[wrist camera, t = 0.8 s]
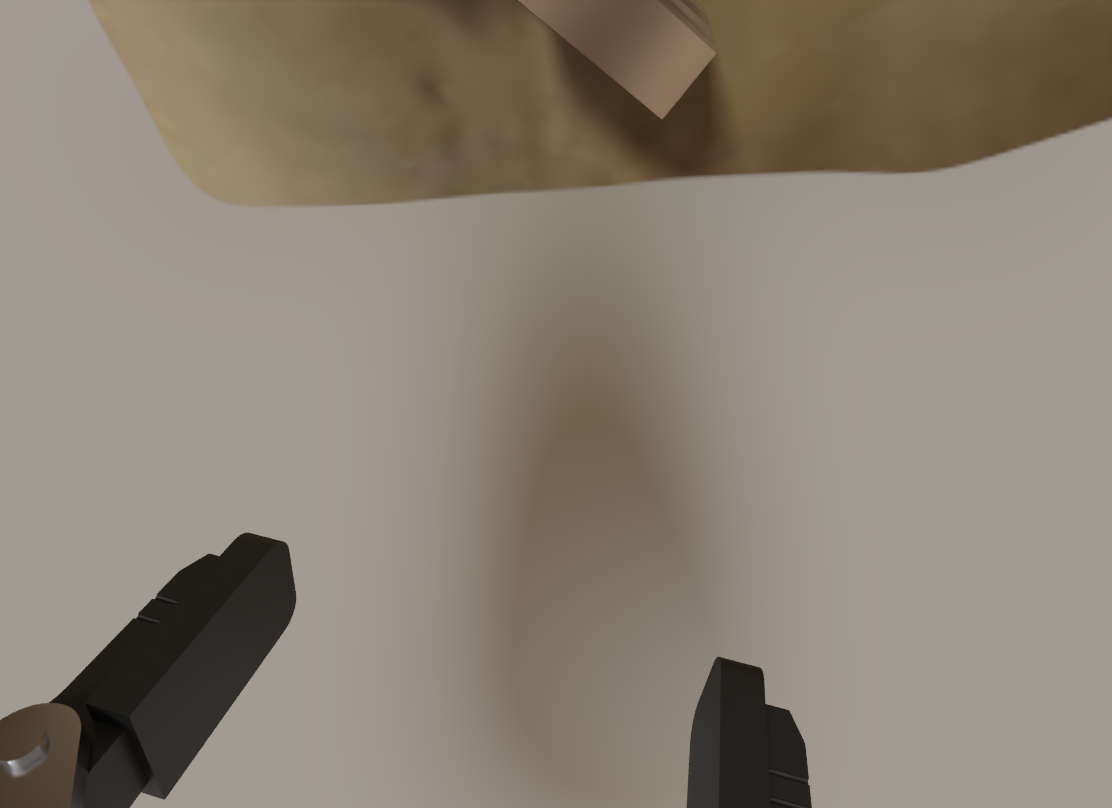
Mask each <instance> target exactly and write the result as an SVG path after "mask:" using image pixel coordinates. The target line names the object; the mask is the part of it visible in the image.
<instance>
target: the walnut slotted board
mask: <svg viewBox="0 0 1112 808" xmlns="http://www.w3.org/2000/svg"><path fill="white" fill-rule="evenodd" d="M518 1H519V2H521V3H522V4H523V5H524V6H525V7H527V8H528V9H529V10H530V11H532V12H533V13H534V14H535V15H536V16H538V17H539V18H540V19H541V20H542V21H544V22H545V23H546V24H547V25H548V26H550V27H551V28H552V29H553V30H554V31H556V32H557V33H558V34H559V35H561V36H562V37H563V38H564V39H565V40H567V41H568V42H569V43H570V44H571V45H573V46H574V47H575V48H576V49H577V50H579V51H580V52H581V53H582V54H583V55H585V56H586V57H587V58H588V59H589V60H591V61H592V62H593V63H594V64H596V65H597V66H598V67H599V68H600V69H602V70H603V71H604V72H605V73H606V74H608V75H609V76H610V77H611V78H612V79H614V80H615V81H616V82H617V83H618V84H620V85H621V86H622V87H623V88H624V89H626V90H627V91H628V92H629V93H631V94H632V95H633V96H634V97H635V98H637V99H638V100H639V101H640V102H641V103H643V104H644V105H645V106H646V107H647V108H649V109H650V110H651V111H652V112H653V113H655V114H656V115H657V116H658V117H659V118H661V119H663V118H664V117H665V116H666V114H667V113H668V112H669V111H670V110H671V108H672V107H673V106H674V105H675V103H676V102H677V101H678V100H679V99H680V97H681V96H682V95H683V94H684V92H685V91H686V90H687V89H688V88H689V86H690V85H691V84H692V83H693V81H694V80H695V79H696V78H697V77H698V75H699V74H700V73H701V72H702V70H703V69H704V68H705V67H706V66H707V64H708V63H709V62H710V61H711V59H712V58H713V57H714V56H715V55H716V50H715V46H714V42H713V38H712V35H711V31H710V27H709V23H708V20H707V16H706V12H705V10H704V9H703V8H702V7H701V6H700V5H699V4H697V3H696V2H695V1H694V0H518Z"/></svg>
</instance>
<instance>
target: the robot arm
mask: <svg viewBox="0 0 1112 808" xmlns="http://www.w3.org/2000/svg"><path fill="white" fill-rule="evenodd" d="M295 604H296V591H295V585H294V578H293V572H292V566H291V559H290V553H289V548H288V545H287V544H286V543H285V542H282V541H278V540H275V539H271V538H267V537H263V536H259V535H255V534H251V533H244V534H241V535H240V536H239V537H237V538H236V539H235V540H234V541H233V542H232V543H231V544H230V545H229V547H228V548H227V549H226V550H225V551H224V552H223V553H222V554H221V555H220V556H216V555H213V554H207V555H206V556H204V557H202V558H201V559H199V560H197V561H196V562H194V563H192V564H190V565H189V566H187V567H186V568H184V569H182V570H181V571H179V572H178V573H177V574H176V575H175V576H174V577H173V578H172V579H171V580H170V581H169V582H168V583H167V584H166V585H165V586H164V587H163V588H162V590H161V591H160V592H159V593H158V594H157V597H156V598H155V599H152V600H151V601H150V602H149V603H148V604H147V605H146V606H145V607H144V608H143V609H142V610H141V611H140V612H139V613H138V617H137V618H136V619H134V618H133V619H132V621H131V622H129V624H128V625H127V626H126V627H125V628H124V629H123V630H122V631H121V632H120V633H119V634H118V635H117V636H116V637H115V638H114V639H113V640H112V641H111V642H110V643H109V644H108V645H107V646H106V647H105V648H104V649H103V651H101V652H100V654H98V656H97V657H96V658H95V659H94V660H93V661H92V662H91V663H90V664H89V665H88V666H87V667H86V668H85V669H84V670H83V671H82V672H81V673H80V674H79V675H78V676H77V677H76V678H75V679H74V680H73V681H72V682H71V683H70V684H69V686H68V687H67V688H66V689H64V690H63V691H62V692H61V693H60V694H59V695H58V696H57V697H56V698H54V699H53V700H52V701H51V702H49V703H42V704H37V705H32V706H29V707H26V708H23V709H20V710H18V711H16V712H13V713H11V714H10V715H8V716H6V717H4V718H2V719H1V720H0V808H129V807H130V806H131V805H132V804H133V802H134V801H135V799H136V798H137V797H138V795H139V794H140V793H141V792H143V793H146V794H149V795H152V796H155V797H158V798H161V799H165V798H166V797H167V796H168V794H169V793H170V791H171V790H172V789H173V787H174V786H175V784H176V783H177V782H178V780H179V779H180V777H181V776H182V775H183V773H184V772H185V770H186V769H187V767H188V766H189V765H190V763H191V762H192V760H193V759H194V758H195V756H196V755H197V753H198V752H199V751H200V749H201V748H202V746H203V745H204V744H205V742H206V740H207V739H208V738H209V736H210V735H211V734H212V732H213V731H214V729H215V728H216V727H217V725H218V724H219V722H220V721H221V720H222V718H223V717H224V715H225V714H226V712H227V711H228V710H229V708H230V707H231V705H232V704H233V703H234V701H235V700H236V698H237V697H238V696H239V694H240V693H241V691H242V690H243V688H244V687H245V686H246V684H247V683H248V681H249V680H250V678H251V677H252V676H253V674H254V673H255V671H256V670H257V669H258V667H259V666H260V665H261V663H262V662H263V660H264V659H265V657H266V656H267V655H268V653H269V652H270V650H271V649H272V648H273V646H274V645H275V643H276V642H277V640H278V639H279V638H280V636H281V635H282V633H283V632H284V631H285V629H286V628H287V626H288V624H289V622H290V620H291V618H292V615H293V612H294V609H295ZM808 779H809V776H808V767H807V757H806V748H805V743H804V740H803V738H802V736H801V734H800V732H799V730H798V728H797V726H796V724H795V722H794V719H793V717H792V715H791V713H790V711H789V710H786V709H782V708H778V707H774V706H771V705H767V704H765V688H764V675H763V671H762V669H761V668H759V667H756V666H752V665H748V664H744V663H740V662H736V661H733V660H729V659H725V658H721V657H717V658H716V659H715V661H714V664H713V666H712V669H711V671H710V674H709V676H708V679H707V682H706V684H705V687H704V689H703V692H702V695H701V697H700V699H699V702H698V705H697V708H696V711H695V715H694V720H693V725H692V731H691V740H690V758H689V775H688V794H687V808H812V806H811V796H810V787H809V785H808Z"/></svg>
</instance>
